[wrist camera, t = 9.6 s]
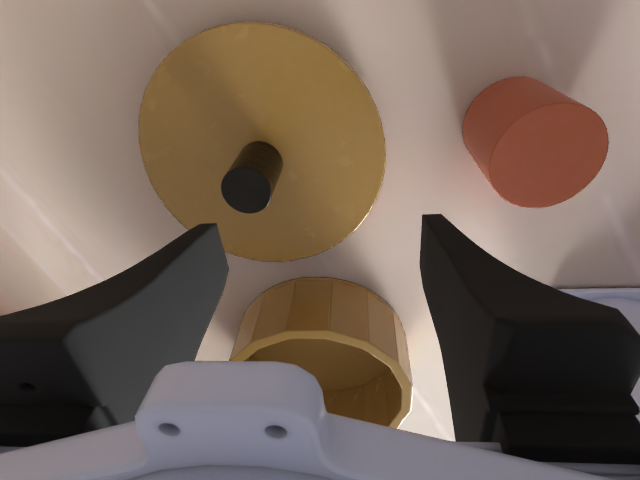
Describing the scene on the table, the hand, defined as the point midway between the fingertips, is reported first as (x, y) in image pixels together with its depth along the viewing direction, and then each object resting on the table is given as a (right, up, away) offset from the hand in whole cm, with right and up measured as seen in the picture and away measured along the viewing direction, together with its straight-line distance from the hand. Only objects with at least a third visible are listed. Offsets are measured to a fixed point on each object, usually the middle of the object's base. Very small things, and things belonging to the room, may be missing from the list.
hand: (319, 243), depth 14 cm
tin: (0, -8, +16) cm, 18 cm away
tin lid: (-3, +5, +8) cm, 10 cm away
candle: (+10, +6, +7) cm, 13 cm away
